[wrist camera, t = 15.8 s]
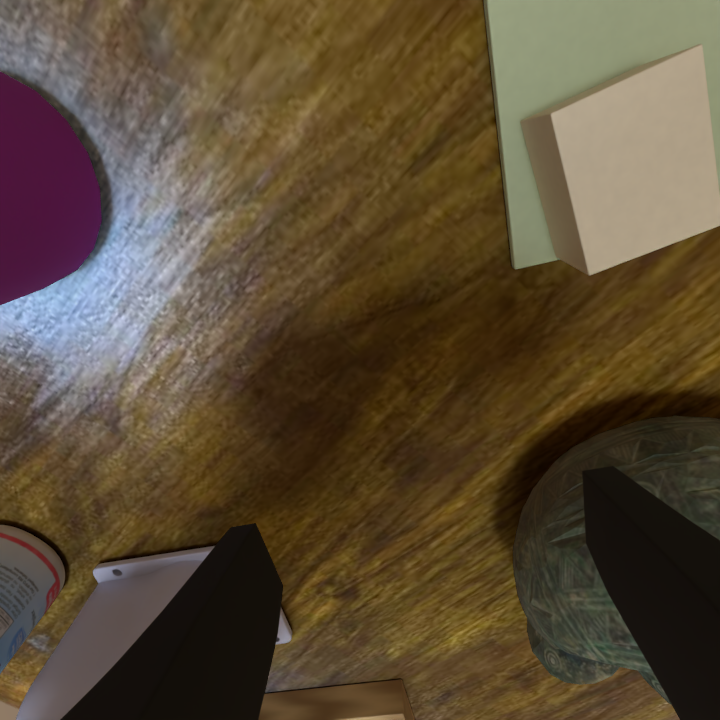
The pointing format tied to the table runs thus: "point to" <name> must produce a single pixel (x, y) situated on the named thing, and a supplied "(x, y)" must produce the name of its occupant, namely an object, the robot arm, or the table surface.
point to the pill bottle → (24, 586)
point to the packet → (627, 163)
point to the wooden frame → (340, 703)
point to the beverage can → (42, 194)
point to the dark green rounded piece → (572, 557)
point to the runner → (578, 78)
